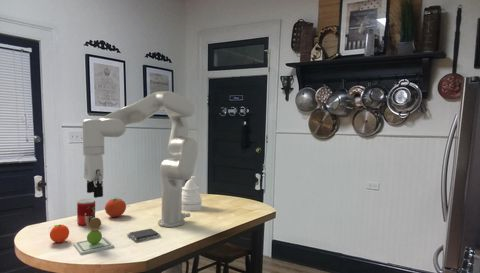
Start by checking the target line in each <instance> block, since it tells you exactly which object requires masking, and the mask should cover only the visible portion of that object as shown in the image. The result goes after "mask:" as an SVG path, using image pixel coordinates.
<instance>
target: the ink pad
mask: <svg viewBox="0 0 480 273" xmlns="http://www.w3.org/2000/svg"><path fill="white" fill-rule="evenodd" d="M126 236H127V237H128V238H129V239H130V240H131V241H133V242H134V243H138V242H143V241H148V240H153V239H158V238H161V233H159V232H157V231H156V230H154V229H153V228H145V229H141V230H137V231H132V232H131V231H130V232H129V233H127V235H126Z"/></svg>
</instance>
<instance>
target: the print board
mask: <svg viewBox="0 0 480 273" xmlns="http://www.w3.org/2000/svg"><path fill="white" fill-rule="evenodd" d="M73 247H74V248H75V249H76V250H77V252H78V253H79V254H80V255H81V256H82V255H85V254H90V253H94V252H99V251H103V250H105V251H106V250H109V249H113V248H115V245H114V244H113V243H112V241H110V239H108V238H107V237H106V236H102V239H101V241H100V242H99V243H97V244H90V243H89V242H88V241H87V239H86V240H82V241H76V242H75V241H74V242H73Z"/></svg>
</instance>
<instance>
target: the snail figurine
mask: <svg viewBox="0 0 480 273" xmlns="http://www.w3.org/2000/svg"><path fill="white" fill-rule="evenodd" d="M85 215H86V213H85ZM88 219H89V217H88V216H86V217H85V221H86V225H87V226H86V228H87V229H88V230H90V231H88V233H87V235H86V240H87V241H88V242H89V243H90V244H97V243H99V242H100V241H101V239H102V237H103V234H102V232H101V231H100V230H101V229H102V227H101V225H102V220H101V219H100V218H99V217H95V218H92V219H91V220H90V222H89V220H88Z"/></svg>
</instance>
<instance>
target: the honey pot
mask: <svg viewBox="0 0 480 273" xmlns="http://www.w3.org/2000/svg"><path fill="white" fill-rule="evenodd" d="M195 179H196V176H195V175H192V176H191V178H189V179H188V180H186V182H185V184H184V186H182V211H183V212H193V211H199V210H201V209H202V205H203V204H202V202H203V200H202V197H201V193H200V191H199V189H200V187H199V186H197V184H196V182H195Z"/></svg>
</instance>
